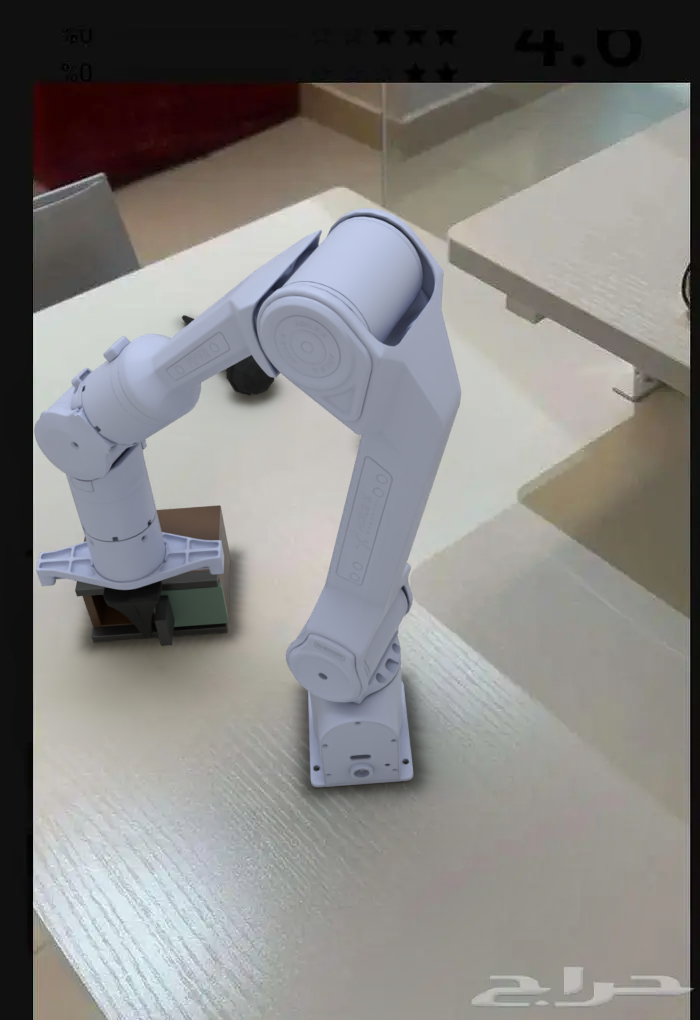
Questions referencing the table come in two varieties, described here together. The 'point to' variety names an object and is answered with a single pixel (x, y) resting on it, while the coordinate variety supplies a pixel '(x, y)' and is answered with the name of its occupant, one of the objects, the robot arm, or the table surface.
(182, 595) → the closet door
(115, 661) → the table surface
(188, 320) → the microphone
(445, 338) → the robot arm
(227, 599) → the closet
